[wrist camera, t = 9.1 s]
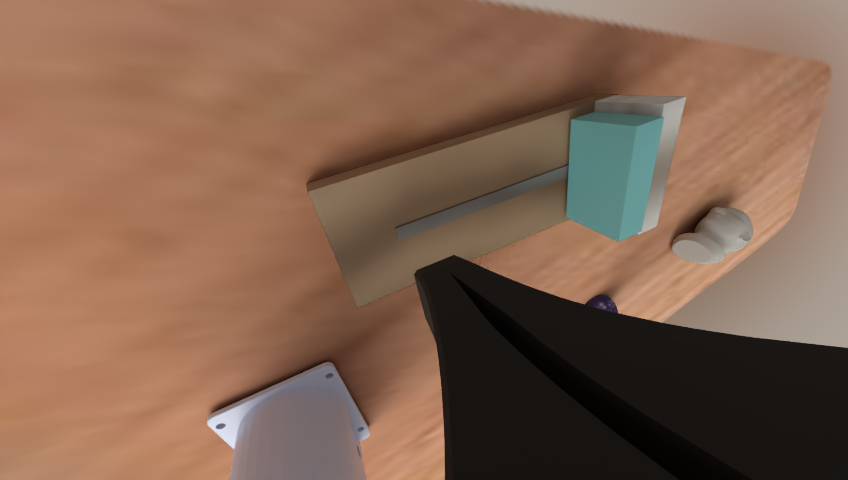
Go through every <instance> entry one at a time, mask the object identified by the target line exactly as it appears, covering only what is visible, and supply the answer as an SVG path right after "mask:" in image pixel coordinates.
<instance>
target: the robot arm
mask: <svg viewBox="0 0 848 480" xmlns="http://www.w3.org/2000/svg"><path fill="white" fill-rule="evenodd" d="M414 277H415V281H416V284H417V288H418V291H419V295H420V299H421V302H422V306H423V310H424V313H425V317H426V320H427V322H428V324H429V326H430V329H431V331H432V333H433V336H434V338H435V341H436V344H437V351H438V358H439V366H440V376H441V386H442V401H443V417H444V439H445V480H848V348H843V347H834V346H825V345H816V344H807V343H798V342H789V341H779V340H771V339H761V338H753V337H745V336H738V335H732V334H725V333H719V332H712V331H706V330H699V329H693V328H688V327H682V326H676V325H671V324H665V323H660V322H656V321H651V320H646V319H641V318H637V317H632V316H627V315H623V314H619V313H614V312H610V311H606V310H602V309H599V308H595V307H592V306H588V305H584V304H581V303H577V302H573V301H570V300H567V299H564V298H560V297H557V296H554V295H552V294H549V293H546V292H543V291H540V290H537V289H534V288H532V287H529V286H526V285H524V284H521V283H518V282H516V281H513V280H511V279H509V278H506V277H504V276H501V275H499V274H497V273H494V272H492V271H490V270H487V269H485V268H483V267H481V266H478V265H476V264H474V263H472V262H470V261H467V260H465V259H463V258H461V257H458V256H456V255H452V256H450V257H447V258H445V259H442V260H440V261H438V262H435V263H433V264H430V265H428V266H425V267H423V268H420V269H418V270H416V272H415V274H414ZM329 373H331V374H329ZM207 425H208V426H209V427H210V428H211V429H212V430H213V431H215V432H216V433H217V434H218V435H219V436H220V437H221V438H222V439H223V440H224V441H225V442H226V443H227V444H228V445H230V446H231V447H232V448H233V449H234V454H233V461H232V467H231V473H230V479H229V480H367V478H366V473H365V468H364V463H363V458H362V452H361V447H360V441H362V440H364V439H366V438H367V437H368V436H369V435H370V429H369V427H368V425H367V424H366V422H365V420H364V418H363V416H362V415H361V413H360V411H359V409H358V407H357V406H356V404H355V402H354V400H353V398H352V397H351V395H350V393H349V391H348V389H347V388H346V386H345V384H344V382H343V380H342V379H341V377H340V375H339V373H338V371H337V370H336V368H335V366H334V364H333V363H331V362H325V363H323V364H320V365H318V366H316V367H314V368H311V369H309V370H307V371H305V372H302V373H300V374H298V375H296V376H294V377H291V378H289V379H287V380H285V381H282V382H280V383H278V384H276V385H274V386H271V387H269V388H267V389H265V390H262V391H260V392H258V393H256V394H253V395H251V396H249V397H247V398H245V399H242V400H240V401H238V402H236V403H233V404H231V405H229V406H227V407H225V408H222V409H220V410H218V411H216V412H213V413H212V414H210V415H209V416H208V420H207Z"/></svg>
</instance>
